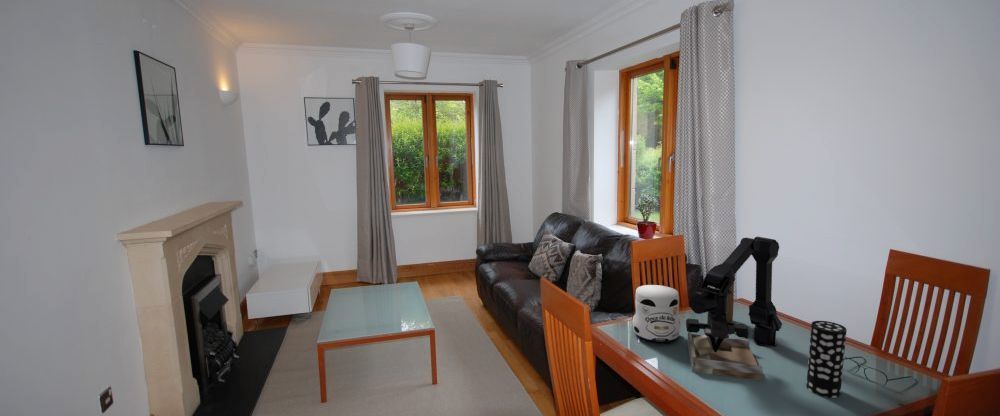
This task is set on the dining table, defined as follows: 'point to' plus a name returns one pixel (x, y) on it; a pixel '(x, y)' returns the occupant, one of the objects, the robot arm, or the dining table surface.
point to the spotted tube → (826, 358)
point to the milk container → (656, 313)
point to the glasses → (873, 368)
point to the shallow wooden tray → (725, 359)
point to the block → (730, 304)
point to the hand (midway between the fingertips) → (715, 351)
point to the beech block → (703, 344)
